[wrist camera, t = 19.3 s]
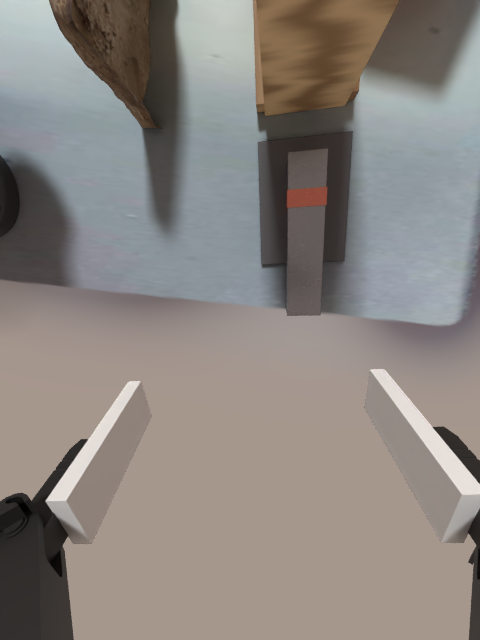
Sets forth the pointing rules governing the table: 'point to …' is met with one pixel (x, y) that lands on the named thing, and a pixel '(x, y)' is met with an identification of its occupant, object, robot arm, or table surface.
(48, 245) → the table surface
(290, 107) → the stand
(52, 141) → the table surface
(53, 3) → the mineral sample
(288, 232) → the grey bar with band
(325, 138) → the mat
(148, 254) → the table surface
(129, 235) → the table surface
